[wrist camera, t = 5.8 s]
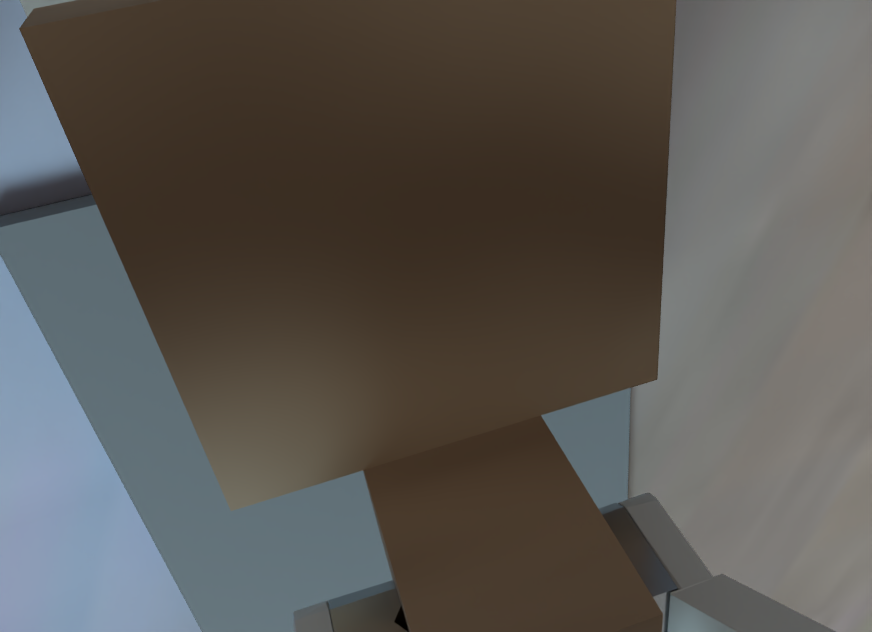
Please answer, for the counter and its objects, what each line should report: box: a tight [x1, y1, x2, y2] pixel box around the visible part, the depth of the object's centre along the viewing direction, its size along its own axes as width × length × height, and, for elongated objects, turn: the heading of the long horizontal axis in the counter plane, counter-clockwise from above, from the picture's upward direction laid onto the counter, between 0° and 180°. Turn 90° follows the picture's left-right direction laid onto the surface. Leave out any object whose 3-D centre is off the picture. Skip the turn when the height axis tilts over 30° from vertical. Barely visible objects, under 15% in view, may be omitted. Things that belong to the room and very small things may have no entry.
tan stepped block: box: [19, 0, 676, 632], centre depth 10 cm, size 14×6×4 cm, turn 8°
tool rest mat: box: [0, 195, 631, 632], centre depth 20 cm, size 12×20×1 cm, turn 7°
